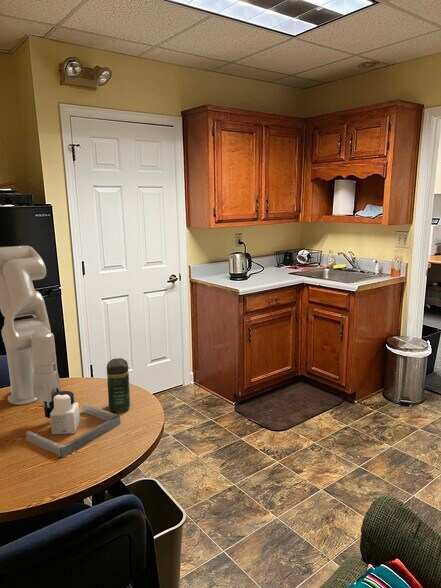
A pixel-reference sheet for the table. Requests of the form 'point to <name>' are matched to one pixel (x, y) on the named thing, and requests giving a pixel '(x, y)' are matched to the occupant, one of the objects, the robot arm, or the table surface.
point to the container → (64, 413)
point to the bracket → (73, 445)
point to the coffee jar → (118, 385)
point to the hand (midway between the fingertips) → (50, 416)
